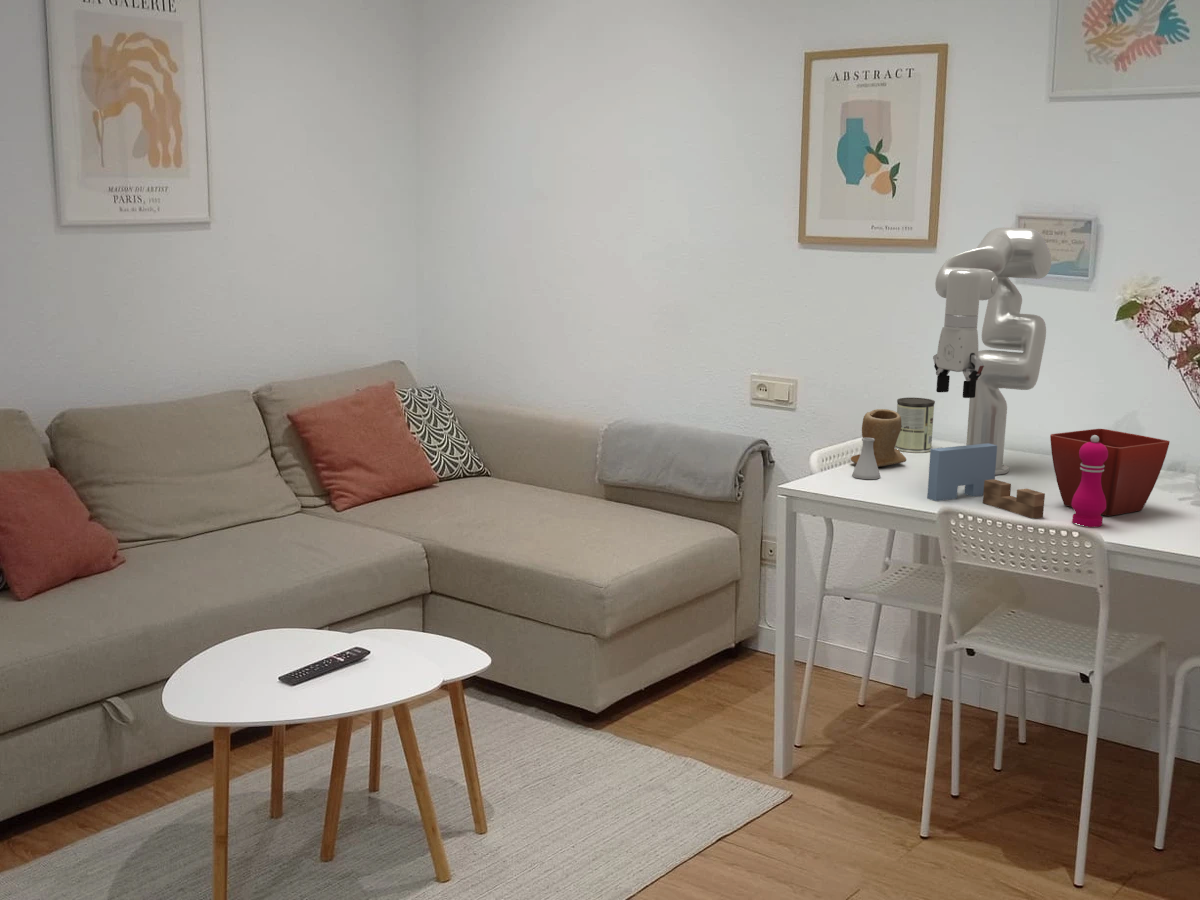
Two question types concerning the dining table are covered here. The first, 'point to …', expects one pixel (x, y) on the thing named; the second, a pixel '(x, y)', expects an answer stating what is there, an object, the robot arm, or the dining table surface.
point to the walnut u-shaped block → (1013, 499)
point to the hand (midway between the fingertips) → (955, 394)
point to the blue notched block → (960, 470)
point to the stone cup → (883, 436)
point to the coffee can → (915, 424)
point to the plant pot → (1111, 467)
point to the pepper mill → (1090, 485)
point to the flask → (867, 462)
